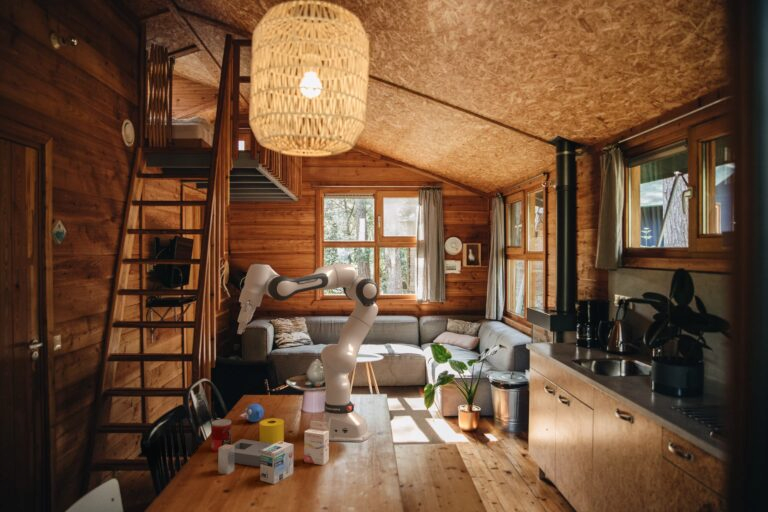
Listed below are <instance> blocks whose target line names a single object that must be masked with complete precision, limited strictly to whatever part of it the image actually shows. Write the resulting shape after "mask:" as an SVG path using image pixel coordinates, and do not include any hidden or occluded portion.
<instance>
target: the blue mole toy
mask: <svg viewBox="0 0 768 512" xmlns="http://www.w3.org/2000/svg"><path fill="white" fill-rule="evenodd" d="M244 411H245V412H244V413H242V414H240V415H239V418H243V419H245V420H247V421H248V422H251V423H256V422H257V423H258V422H260V421H262V419H263V417H264V413H265V411H264V408H263V406H262V405H261V404H259V403H251V404H250V405H248V406H247V407H246V408H245V409H244Z"/></svg>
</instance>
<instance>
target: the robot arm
mask: <svg viewBox="0 0 768 512" xmlns="http://www.w3.org/2000/svg"><path fill="white" fill-rule="evenodd" d="M244 279H245V280H244V285H243V287H242V289H241V292H240V296H239V298H238V299H239V300H238V302H239V303H240V307H241V309H240V311H239V314H238V318H237V323H239V324H238V328H237V335H242V334H243V333H245V331H246V328H247V325H248V323H249V322H251V320H252V318H253V316H254V313H255V311H256V309H257V308H260V307H261V304H262V300H263V297H264V295H267V296H268V297H270V298H273V299H274V300H277V301H279V302H283V301H287V300H289V299H291V297H293V296H295V295H297V294H299V293H300V294H301V293H304V292H308V291H312V290H313V291H314V290H319V291H328V290H335V289H340V288H342V290H343V292H344V295H345V296H346V297H347V298H348V299H349V300H351V301H355V302H354V303H355V304H354V308H353V310H352V312H351V313H350V315H349V316H348V318H347V320H346V322H345V324H344V325H343V327H342V328H341V330H340V336H339V339H338V342H337V344H335V343H334V344H329V345H326V346H324V347H323V349H322V350H321V352H320V359H321V362H322V369H323V377H324V382H325V401H324V406H323V408H324V421H323V422H326V423H328V428H329V441H331V442H332V441H335V442H351V443H352V442H354V443H355V442H356V443H361V442H365V441H367V440H368V439H370V438H371V436H372V435H373V431H372V429H368V426H367V425H368V423H367V420H366V419H365V418H364V417H362V415H360V414H359V412H357V411H356V410H355V406H356V402H354V403H352V401H351V383H350V379H349V376H348V374H350V373H352V372H353V371H354V370H355V369H356V366H357V364H358V363H357V361H358V360H357V358H358V355H359V352H360V349H361V347H362V344H363V342H364V340H365V338H366V336H367V335H368V333H369V331H370V330H371V328H372V327H373V325H374V322H375V320H376V318H377V315H378V313H379V306H378V305H377V304H376V302H377V300H378V295H379V285H378V284H377V283H376V282H375V281H374V280H373V279H371V278H365V277H359V276H358V274H357V270H356V267H355V266H354V265H353V264H351V263H334V264H333V263H332V264H327V265H323V266H320V267H317V268H316V269H315V270H314V273H311V274H309V275H304V276H299V277H289V276H285V275H280V274H278V273H277V272H276V271H275V270H274V269H273V268H272V267H271V266H270V264H268V263H262V262H261V263H260V262H253V263H252V264H251V265H250V266H249V267H248V270H247V273H246V276H245V278H244Z"/></svg>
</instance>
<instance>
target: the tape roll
mask: <svg viewBox="0 0 768 512" xmlns="http://www.w3.org/2000/svg"><path fill="white" fill-rule="evenodd" d="M284 440H285V420H284V419H282V418H278V417H277V418H273V417H270V418H265V419H263V420H262V419H261V420H259V442H267V443H274V444H275V443H277V442H279V441H282V442H285V441H284Z"/></svg>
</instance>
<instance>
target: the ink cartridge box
mask: <svg viewBox="0 0 768 512" xmlns="http://www.w3.org/2000/svg"><path fill="white" fill-rule="evenodd" d="M303 438H304V441H303V444H304V447H303V448H304V449H303V452H304V453H303V462H304V463H309V464H314V465H315V464H316V465H320V466H324V465H326V463H327V462H329V459H330V458H329V456H330V440H329V428H328V423H326V422H324V421H319V420H310V421H309V428H308V429H306V430H304V437H303Z"/></svg>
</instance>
